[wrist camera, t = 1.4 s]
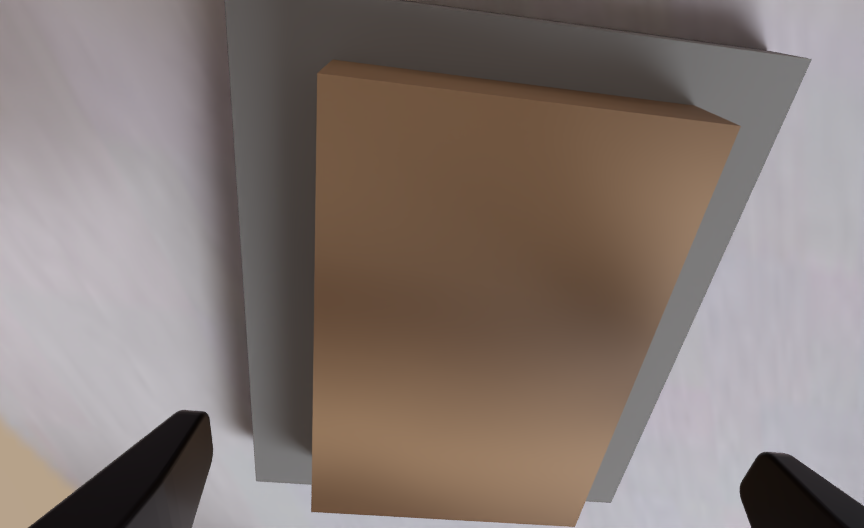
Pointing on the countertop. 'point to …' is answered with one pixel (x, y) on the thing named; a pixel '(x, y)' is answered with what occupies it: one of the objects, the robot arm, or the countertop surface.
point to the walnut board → (489, 284)
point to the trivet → (472, 57)
